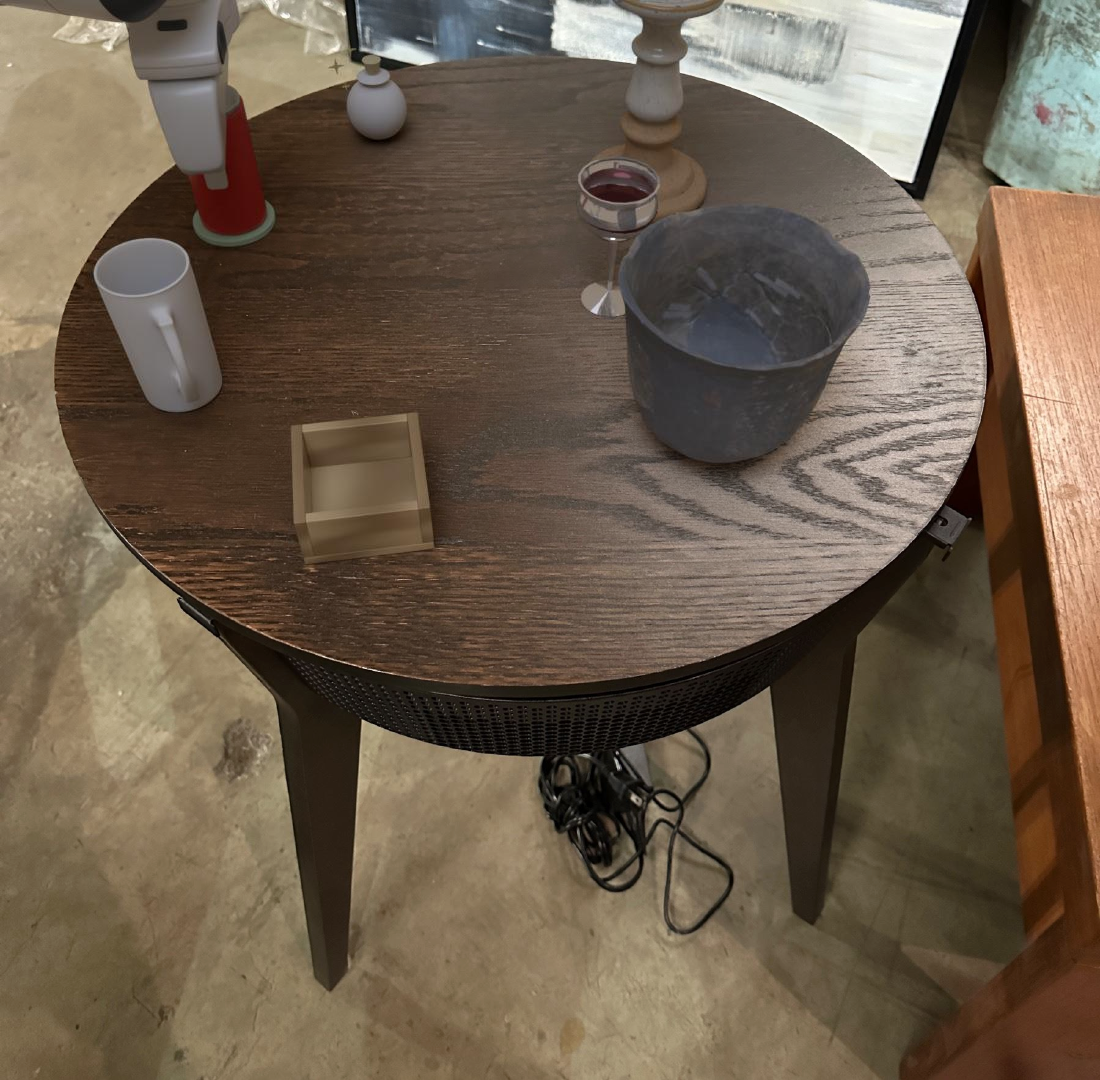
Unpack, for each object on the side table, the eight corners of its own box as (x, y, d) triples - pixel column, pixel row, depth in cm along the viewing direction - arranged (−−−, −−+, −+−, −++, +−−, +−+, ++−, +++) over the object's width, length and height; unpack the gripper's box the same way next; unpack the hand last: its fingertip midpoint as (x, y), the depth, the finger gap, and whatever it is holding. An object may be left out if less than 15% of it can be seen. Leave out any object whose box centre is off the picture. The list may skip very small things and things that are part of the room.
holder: (305, 565, 74) (293, 523, 70) (301, 468, 79) (290, 425, 75) (434, 549, 75) (430, 507, 71) (422, 455, 80) (417, 411, 77)
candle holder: (579, 153, 106) (589, -55, 90) (697, 153, 107) (728, -54, 91) (586, 226, 99) (599, 13, 83) (713, 225, 99) (750, 14, 83)
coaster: (192, 250, 95) (190, 244, 95) (195, 201, 100) (193, 196, 99) (276, 243, 96) (275, 237, 96) (275, 195, 100) (274, 190, 100)
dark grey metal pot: (845, 511, 78) (904, 364, 66) (614, 518, 77) (632, 370, 65) (797, 351, 89) (841, 200, 77) (594, 355, 88) (606, 203, 76)
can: (199, 237, 95) (165, 121, 86) (201, 197, 99) (169, 82, 89) (267, 231, 96) (241, 116, 86) (267, 192, 99) (242, 78, 90)
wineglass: (566, 276, 94) (571, 158, 85) (639, 272, 95) (652, 154, 85) (576, 325, 90) (583, 207, 80) (652, 321, 91) (668, 202, 81)
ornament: (416, 145, 106) (407, 49, 98) (345, 158, 105) (331, 62, 97) (400, 115, 110) (390, 20, 102) (331, 127, 108) (316, 32, 100)
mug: (132, 372, 85) (84, 252, 76) (212, 348, 87) (175, 228, 78) (164, 453, 80) (116, 335, 70) (248, 426, 82) (213, 307, 72)
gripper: (146, -52, 87) (188, 102, 98) (129, 71, 75) (178, 231, 86) (222, -56, 88) (255, 97, 99) (217, 65, 76) (255, 225, 87)
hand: (219, 160), depth 93 cm, fingers closed on can, 6 cm apart
